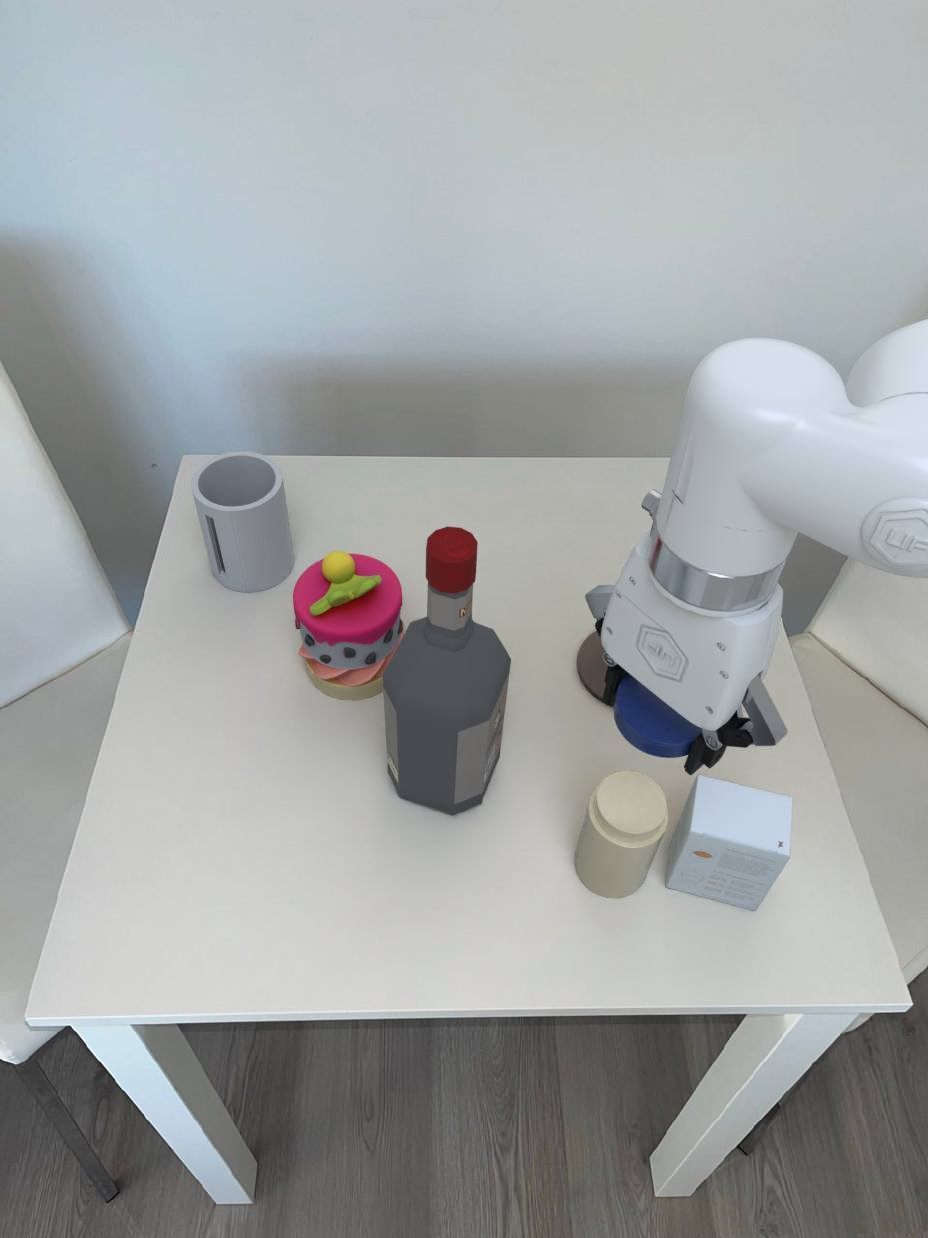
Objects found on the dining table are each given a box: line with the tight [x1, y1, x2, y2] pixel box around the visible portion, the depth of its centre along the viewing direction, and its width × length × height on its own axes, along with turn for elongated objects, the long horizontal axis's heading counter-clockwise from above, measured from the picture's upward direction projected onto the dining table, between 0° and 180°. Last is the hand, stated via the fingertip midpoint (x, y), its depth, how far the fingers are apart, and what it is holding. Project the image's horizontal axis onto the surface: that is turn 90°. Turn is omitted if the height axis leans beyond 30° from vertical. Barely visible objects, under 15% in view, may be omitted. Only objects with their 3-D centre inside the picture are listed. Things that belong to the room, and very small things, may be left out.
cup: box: [190, 450, 296, 593], centre depth 100 cm, size 9×9×12 cm
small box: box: [664, 774, 794, 911], centre depth 78 cm, size 8×6×10 cm
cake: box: [292, 550, 405, 701], centre depth 90 cm, size 10×11×15 cm
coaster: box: [576, 630, 614, 709], centre depth 96 cm, size 11×11×1 cm
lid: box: [613, 673, 702, 759], centre depth 65 cm, size 7×7×2 cm
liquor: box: [383, 526, 512, 816], centre depth 76 cm, size 9×9×30 cm
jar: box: [573, 770, 669, 899], centre depth 78 cm, size 6×6×11 cm
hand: (659, 725), depth 67 cm, fingers closed on lid, 7 cm apart
